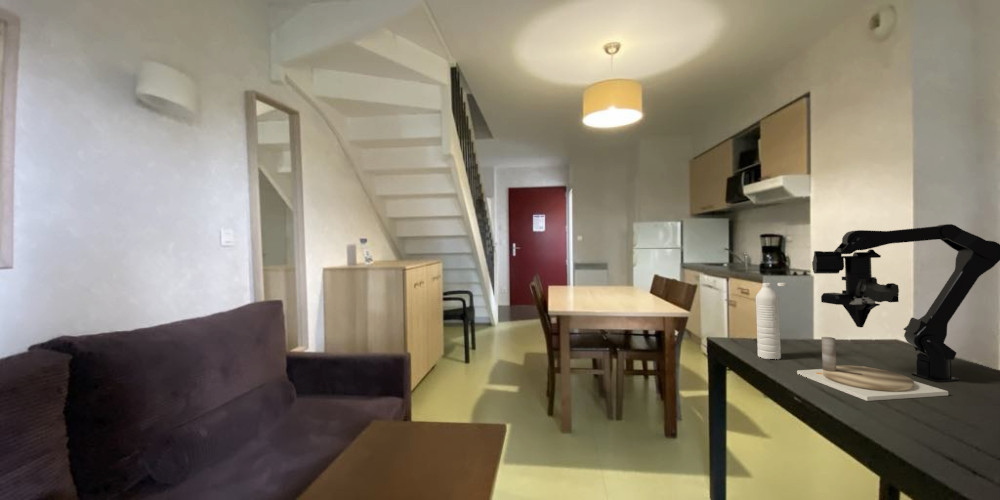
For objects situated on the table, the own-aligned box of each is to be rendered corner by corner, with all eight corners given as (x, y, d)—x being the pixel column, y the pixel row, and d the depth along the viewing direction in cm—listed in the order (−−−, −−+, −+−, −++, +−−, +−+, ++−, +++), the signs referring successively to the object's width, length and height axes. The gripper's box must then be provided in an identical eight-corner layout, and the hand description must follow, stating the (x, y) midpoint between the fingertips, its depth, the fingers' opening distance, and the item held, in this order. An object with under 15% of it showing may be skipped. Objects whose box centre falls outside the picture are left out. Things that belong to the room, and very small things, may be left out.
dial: (825, 365, 121) (824, 331, 120) (911, 376, 108) (910, 339, 108) (819, 381, 107) (817, 343, 107) (916, 396, 95) (914, 353, 95)
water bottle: (757, 358, 134) (754, 283, 134) (758, 353, 140) (755, 281, 139) (789, 361, 129) (786, 283, 129) (789, 356, 135) (786, 282, 135)
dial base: (864, 369, 119) (864, 365, 119) (948, 395, 98) (948, 390, 98) (797, 373, 118) (797, 370, 118) (867, 400, 97) (867, 396, 97)
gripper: (854, 276, 109) (856, 334, 109) (918, 273, 110) (920, 331, 110) (818, 274, 120) (820, 326, 120) (877, 271, 121) (879, 323, 121)
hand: (860, 327), depth 117 cm, fingers closed
